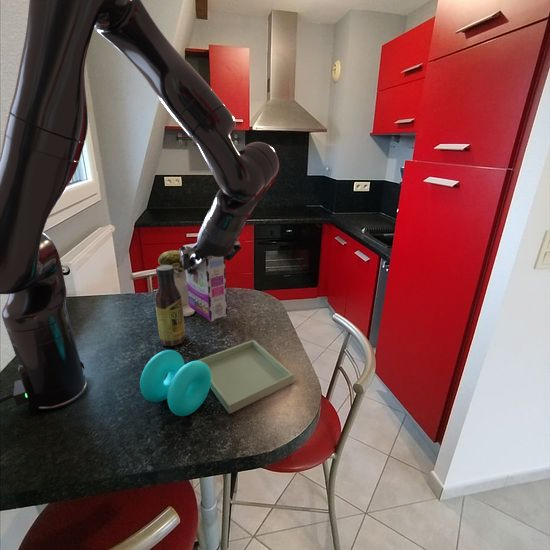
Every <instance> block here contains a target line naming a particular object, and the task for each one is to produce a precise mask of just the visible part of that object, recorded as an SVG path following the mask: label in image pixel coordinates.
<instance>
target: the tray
mask: <svg viewBox="0 0 550 550" xmlns="http://www.w3.org/2000/svg"><path fill="white" fill-rule="evenodd" d="M196 361H202V362H204V363H205V364H207V366H208V367H209V369H210V371H211V386H210V390H211V391H212V393H213V395H215V396H216V398H217V399H218V401H219V402H220V404H221V405H222V406H223V408H224V409H225V410H226V412H227V413H228V414H229V415H230V414H232V413H234V412H237V411H239V410H241V409H242V408H245V407H246V406H249V405H250V404H253V403H255V402H257V401H259V400H260V399H263V398H265V397H267V396H269V395H271V394H273V393H275V392H278V391H279V390H281V389H284V388H285V387H287V386H289V385H291V384H293V383H294V382H295V381H294V377H295V375H294V374H293V373H292V372H291V371H290V370H289V369H288V368H287V367H285V366H284V364H282V363H281V362H280V361H279V360H278V359H276V357H274V356H273V355H272V354H271V353H270V352H268V351H267V350H266V349H265V348H264V347H263V346H261V345H260V344H259V343H258V341H256V340H255V339H251V340H249V341H245V342H242V343H240V344H237V345H235V346H232V347H230V348H226V349H223V350H222V351H221V350H220V351H219V352H216V353H213V354H211V355H208V356H205V357H202V358H200V359H197V360H196Z"/></svg>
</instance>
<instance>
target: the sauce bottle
mask: <svg viewBox="0 0 550 550" xmlns="http://www.w3.org/2000/svg"><path fill="white" fill-rule="evenodd" d="M155 274H156V276H157V285H158V288H157V289H156V291H155V294H154V301H155V312H156V319H157V328H158V336H159V338H160V343H161V344H162V345H163V346H165V347H174V346H178V345H181V344H182V343H183V342H184V341H185V337H186V336H185V335H186V328H185V318H184V317H185V316H183V307H182V297H181V295H180V293H179V291H178V289H177V287H176V285H175V281H174V267H173V266H171V265H163V266H162V265H159V266H157V267H156V268H155Z"/></svg>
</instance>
